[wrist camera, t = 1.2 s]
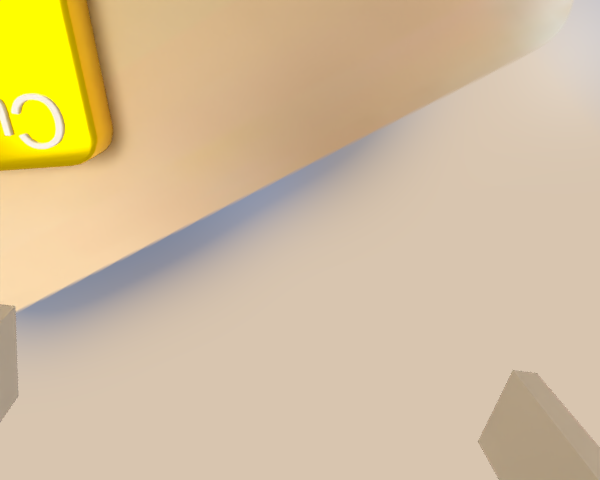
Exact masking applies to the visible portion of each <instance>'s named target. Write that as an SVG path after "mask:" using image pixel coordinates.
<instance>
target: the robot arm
mask: <svg viewBox="0 0 600 480" xmlns="http://www.w3.org/2000/svg"><path fill="white" fill-rule="evenodd" d="M17 397H18V373H17V345H16V312H15V306H9V305H2V304H0V422H1V420H2V419H3V418H4V416H5V415H6V413H7V412H8V410H9V409H10V407H11V406H12V404H13V403H14V402H15V400H16V398H17ZM478 443H479V444H480V446H481V448H482V450H483V452H484V453H485V455H486V457H487V459H488V461H489V462H490V464H491V466H492V468H493V470H494V472H495V473H496V475H497V477H498V479H499V480H600V447H599V446H598V445H597V444H596V442H595V441H594V440H593V439H592V438H591V437H590V435H589V434H588V433H587V432H586V431H585V430H584V429H583V427H582V426H581V425H580V424H579V422H578V421H577V420H576V419H575V418H574V417H573V415H572V414H571V413H570V412H569V411H568V409H567V408H566V407H565V406H564V405H563V403H562V402H561V401H560V400H559V399H558V398H557V396H556V395H555V394H554V393H553V392H552V390H551V389H550V388H549V387H548V386H547V385H546V383H545V382H544V381H543V380H542V379H541V377H540V376H539V375H538V374H537V373H531V372H522V371H515V370H513V371H512V373H511V375H510V377H509V379H508V381H507V383H506V385H505V387H504V389H503V391H502V393H501V395H500V398H499V400H498V402H497V404H496V406H495V408H494V410H493V412H492V414H491V416H490V418H489V420H488V422H487V424H486V426H485V428H484V430H483V432H482V434H481V437H480V438H479V440H478Z"/></svg>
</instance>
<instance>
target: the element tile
mask: <svg viewBox="0 0 600 480" xmlns="http://www.w3.org/2000/svg"><path fill="white" fill-rule="evenodd" d="M112 135H113V126H112V121H111V116H110V111H109V107H108V102H107V97H106V92H105V87H104V83H103V78H102V73H101V68H100V63H99V59H98V54H97V49H96V44H95V39H94V35H93V30H92V25H91V20H90V15H89V11H88V6H87V1H86V0H0V171H3V170H18V169H33V168H47V167H62V166H74V165H79V164H82V163H84V162H86V161H88V160H90V159H91V158H93V157H95V156H96V155H98V154H100V153H101V152H103V151H104V150H106V149H107V147H108V146H109V145H110V143H111V140H112Z"/></svg>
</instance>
